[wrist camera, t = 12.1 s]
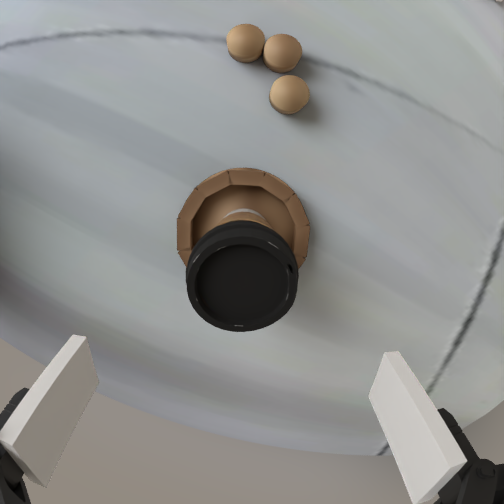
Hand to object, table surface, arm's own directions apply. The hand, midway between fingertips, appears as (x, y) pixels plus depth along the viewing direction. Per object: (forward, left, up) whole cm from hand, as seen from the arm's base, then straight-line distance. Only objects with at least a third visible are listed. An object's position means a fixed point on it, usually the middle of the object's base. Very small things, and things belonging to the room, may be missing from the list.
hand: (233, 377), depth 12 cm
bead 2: (+3, +21, -25) cm, 33 cm away
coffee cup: (0, 0, -24) cm, 24 cm away
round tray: (0, 0, -25) cm, 25 cm away
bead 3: (+4, +16, -25) cm, 30 cm away
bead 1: (-1, +22, -25) cm, 33 cm away
